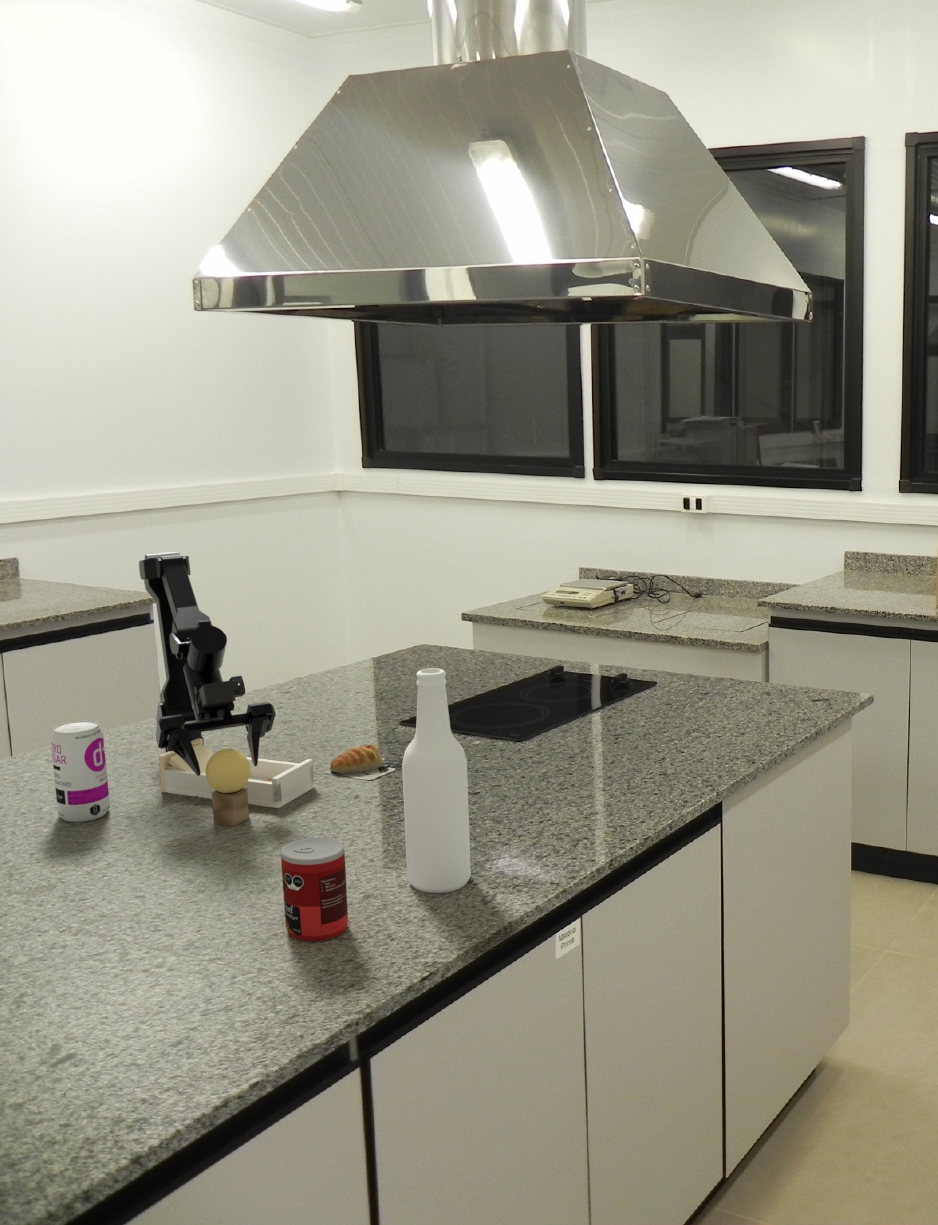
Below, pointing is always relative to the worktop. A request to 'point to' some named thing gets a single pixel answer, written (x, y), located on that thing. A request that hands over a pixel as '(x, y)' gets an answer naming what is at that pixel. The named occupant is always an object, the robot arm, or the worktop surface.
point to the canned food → (314, 888)
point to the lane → (264, 785)
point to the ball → (228, 771)
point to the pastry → (357, 760)
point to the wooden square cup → (230, 807)
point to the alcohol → (435, 794)
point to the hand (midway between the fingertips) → (227, 769)
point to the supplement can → (80, 771)
